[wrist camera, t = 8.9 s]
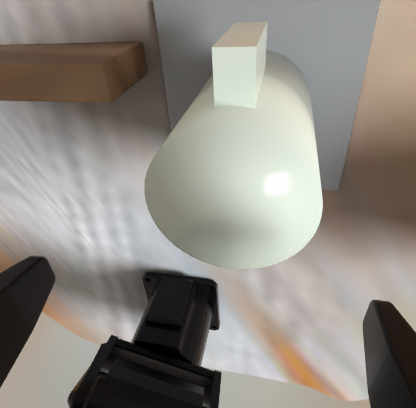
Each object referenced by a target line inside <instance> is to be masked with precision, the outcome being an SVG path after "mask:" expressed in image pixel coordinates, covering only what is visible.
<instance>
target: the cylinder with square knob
mask: <svg viewBox="0 0 416 408" xmlns="http://www.w3.org/2000/svg"><path fill="white" fill-rule="evenodd" d="M266 42H267V21H263V22H235V23H234V24H233V25H232V26H231V27H230V28H229V29H228V31H227V32H226V33H225V34H224V35H223V36H222V37H221V38H220V39H219V40H218V41H217V42H216V43H215V44H214V45H213V47H212V64H213V74H212V76H211V77H210V79H209V80H208V81H207V83H206V84H205V86H204V87H203V88H202V90H201V91H200V93H199V94H198V95H197V97H196V98H195V100H194V101H193V102H192V104H191V105H190V107H189V108H188V109H187V111H186V112H185V114H184V115H183V116H182V118H181V119H180V121H179V122H178V124H177V125H176V126H175V128H174V129H173V131H172V132H171V133H170V135H169V136H168V138H167V139H166V140H165V142H164V143H163V145H162V146H161V147H160V149H159V150H158V152H157V153H156V154H155V156H154V158H153V159H152V161H151V163H150V165H149V168H148V171H147V173H146V179H145V198H146V203H147V206H148V210H149V212H150V214H151V217H152V219H153V220H154V222H155V224H156V225H157V227H158V228H159V229H160V231H161V232H162V233H163V234H164V235H165V237H166V238H167V239H168V240H169V241H171V242H172V243H173V244H174V245H175V246H176V247H178V248H179V249H181V250H182V251H183V252H185V253H187V254H189V255H190V256H192V257H194V258H196V259H198V260H201V261H203V262H206V263H209V264H212V265H216V266H220V267H225V268H232V269H254V268H262V267H266V266H271V265H274V264H277V263H280V262H282V261H284V260H286V259H288V258H290V257H291V256H293V255H295V254H296V253H297V252H299V251H300V250H301V249H302V248H304V247H305V245H306V244H307V243H308V242H309V241H310V240H311V238H312V237H313V236H314V234H315V232H316V230H317V228H318V226H319V223H320V220H321V216H322V209H323V200H322V189H321V181H320V172H319V164H318V155H317V146H316V138H315V129H314V121H313V112H312V103H311V95H310V90H309V85H308V83H307V80H306V78H305V76H304V74H303V73H302V71H301V70H300V69H299V67H298V66H297V65H296V64H295V63H294V62H292V61H291V60H290V59H288V58H287V57H285V56H283V55H281V54H279V53H276V52H274V51H269V50H266Z"/></svg>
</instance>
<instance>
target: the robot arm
mask: <svg viewBox="0 0 416 408" xmlns="http://www.w3.org/2000/svg"><path fill="white" fill-rule="evenodd" d="M54 283H55V274H54V272H53V270H52V268H51V266H50V264H49V262H48V260H47V259H46V258H45V257H41V256H30V257H28V258H26V259H24V260H23V261H21V262H19V263H17V264H16V265H14V266H12V267H10V268H8V269H7V270H5V271H3V272H1V273H0V387H1V386H2V384H3V382H4V380H5V379H6V377H7V375H8V373H9V372H10V370H11V368H12V366H13V365H14V363H15V361H16V359H17V358H18V356H19V354H20V352H21V351H22V349H23V347H24V345H25V343H26V342H27V340H28V338H29V336H30V335H31V333H32V331H33V329H34V327H35V325H36V323H37V321H38V318H39V316H40V314H41V312H42V309H43V307H44V305H45V303H46V301H47V298H48V296H49V294H50V292H51V289H52V287H53V285H54ZM143 283H144V287H145V290H146V294H147V298H148V304H147V307H146V309H145V311H144V314H143V316H142V318H141V321H140V323H139V325H138V328H137V330H136V332H135V335H134V337H133V339H132V342H131V343H130V342H127V341H124V340H121V339H118V337H117V336H114V335H111V336H110V338H109V340H108V342H107V343H104V344H102V345H101V347H100V349H99V351H98V353H97V354H96V356H95V358H94V361H93V362H92V364H91V366H90V367H89V369H88V370H87V371H86V373H85V374H84V375H83V377H82V378H81V380H80V381H79V382H78V383H77V385H76V386H75V387H74V389H73V390H72V391H71V393H70V395H69V397H68V404H69V408H218V405H219V404H218V403H219V394H220V383H221V372H219V371H216V370H214V371H212V370H209V369H206V368H203V367H201V363H202V359H203V354H204V350H205V346H206V341H207V337H208V333H209V329H210V330H218V329H219V326H220V319H219V303H218V286H217V283H216V282H214V281H209V280H202V279H194V278H186V277H179V276H171V275H163V274H155V273H145V274H144V276H143ZM363 336H364V349H365V362H366V375H367V386H368V394H369V400H370V406H371V408H416V332H415V331H414V330H413V329H412V327H411V326H410V325H409V324H408V323H407V321H406V320H405V319H404V318H403V316H402V315H401V314H400V313H399V311H398V310H397V309H396V308H395V307H394V305H393V304H392V303H390V302H387V301H380V300H372V301H371V302H370V304H369V307H368V310H367V312H366V315H365V317H364V320H363Z"/></svg>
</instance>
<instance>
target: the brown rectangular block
mask: <svg viewBox="0 0 416 408" xmlns="http://www.w3.org/2000/svg"><path fill="white" fill-rule="evenodd" d="M145 75H147V68H146V62H145V56H144V49H143V43H142V42H112V43H69V44H27V45H0V100H5V101H64V102H112V101H113V100H115V99H116V98H117V97H119V96H120V95H121V94H122V93H124V92H125V91H126V90H128V89H129V88H130V87H131V86H133V85H134V84H135V83H136V82H138V81H139V80H140V79H142V78H143V77H144V76H145Z"/></svg>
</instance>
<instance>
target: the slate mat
mask: <svg viewBox="0 0 416 408" xmlns="http://www.w3.org/2000/svg"><path fill="white" fill-rule="evenodd" d="M379 4H380V0H153V5H154V12H155V19H156V27H157V34H158V42H159V49H160V57H161V64H162V71H163V79H164V86H165V94H166V101H167V108H168V116H169V123H170V131H171V132H172V131H173V129H174V128H175V126H176V125H177V124H178V122H179V121H180V119H181V118H182V116H183V115H184V114H185V112H186V111H187V109H188V108H189V107H190V105H191V104H192V102H193V101H194V100H195V98H196V97H197V95H198V94H199V93H200V91H201V90H202V88H203V87H204V86H205V84H206V83H207V81H208V80H209V79H210V77H211V76H212V74H213V64H212V47H213V45H214V44H215V43H216V42H217V41H218V40H219V39H220V38H221V37H222V36H223V35H224V34H225V33H226V32H227V31H228V29H229V28H230V27H231V26H232V25H233V24H234V23H235V22H263V21H267V42H266V50H269V51H274V52H276V53H279V54H281V55H283V56H285V57H287V58H288V59H290V60H291V61H292V62H294V63H295V64H296V65H297V66H298V67H299V69H300V70H301V71H302V73H303V74H304V76H305V78H306V80H307V83H308V85H309V90H310V95H311V103H312V112H313V121H314V129H315V138H316V146H317V155H318V164H319V172H320V181H321V189H322V190H334V191H339V186H340V182H341V177H342V173H343V168H344V163H345V159H346V154H347V150H348V145H349V141H350V136H351V132H352V127H353V122H354V118H355V113H356V109H357V104H358V100H359V95H360V91H361V86H362V81H363V77H364V72H365V68H366V63H367V59H368V54H369V50H370V45H371V41H372V36H373V31H374V27H375V22H376V18H377V13H378V9H379Z"/></svg>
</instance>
